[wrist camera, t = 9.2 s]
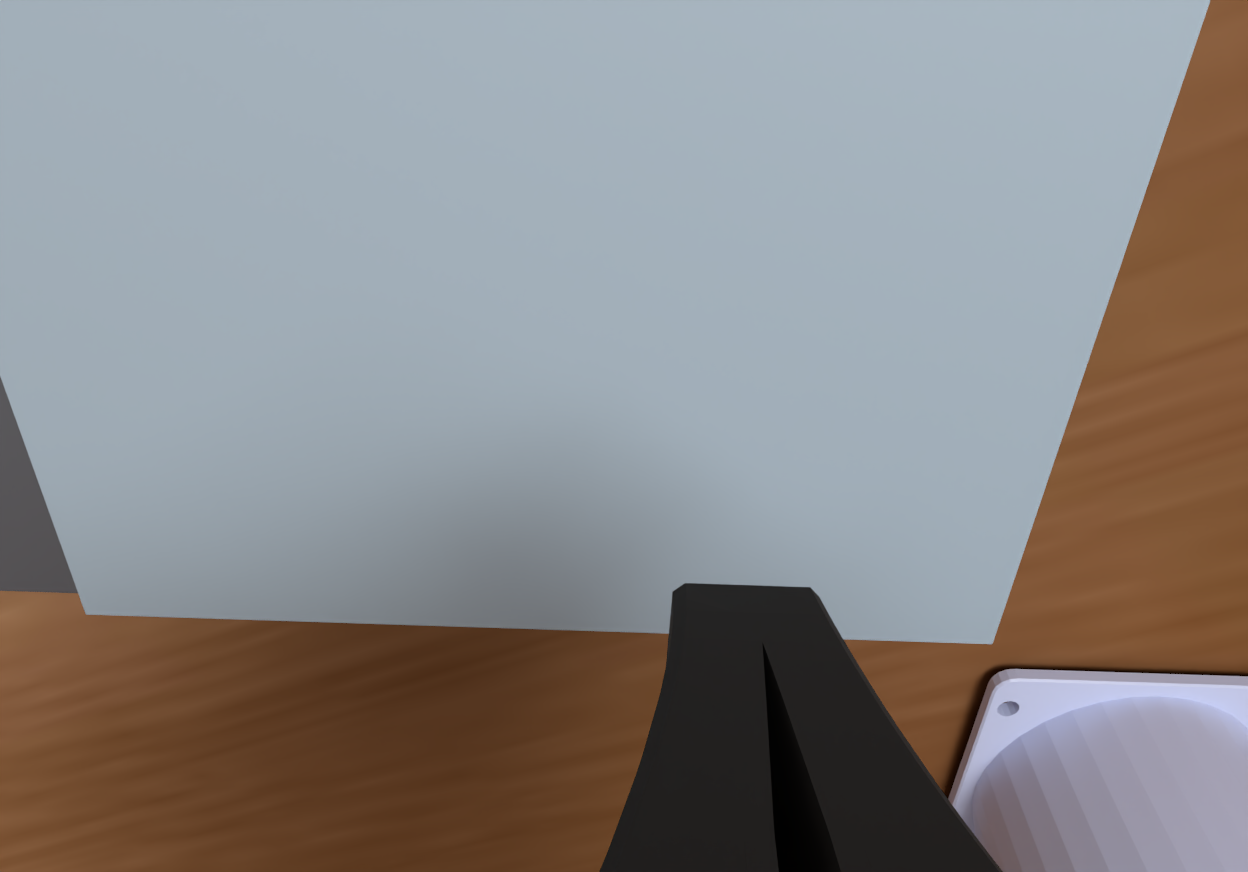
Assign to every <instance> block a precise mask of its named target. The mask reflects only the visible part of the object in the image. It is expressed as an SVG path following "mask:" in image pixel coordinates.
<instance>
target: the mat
mask: <svg viewBox="0 0 1248 872" xmlns="http://www.w3.org/2000/svg"><path fill="white" fill-rule="evenodd" d="M0 591H29V592H59V593H78V591H77V588H76V586H75V583H74V580H73V577H72V574H71V572H70V569H69V566H68V563H67V560H66V558H65V555H64V552H63V549H62V547H61V544H60V541H59V538H58V535H57V533H56V530H55V527H54V524H53V522H52V519H51V516H50V513H49V510H48V508H47V505H46V502H45V499H44V496H43V494H42V491H41V488H40V485H39V483H38V480H37V477H36V474H35V471H34V469H33V466H32V463H31V460H30V457H29V455H28V452H27V449H26V446H25V444H24V441H23V438H22V435H21V432H20V430H19V427H18V424H17V421H16V418H15V416H14V413H13V410H12V407H11V405H10V402H9V399H8V396H7V393H6V391H5V388H4V385H3V382H2V380H1V377H0Z"/></svg>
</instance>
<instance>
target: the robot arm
mask: <svg viewBox="0 0 1248 872" xmlns="http://www.w3.org/2000/svg"><path fill="white" fill-rule="evenodd" d="M1004 702H1007V703H1004ZM600 872H1248V676H1221V675H1190V674H1159V673H1128V672H1097V671H1066V670H1036V669H1006V670H1003V671H1000V672H998V673H997V674H995V675H994V676H993V677H992V678H991V679H990V681H989V682H988V685H987V688H986V691H985V694H984V697H983V700H982V702H981V705H980V708H979V711H978V714H977V717H976V720H975V723H974V726H973V728H972V731H971V734H970V737H969V740H968V743H967V746H966V749H965V752H964V754H963V757H962V760H961V763H960V766H959V769H958V772H957V775H956V778H955V780H954V783H953V786H952V789H951V792H950V795H949V798H947V797H946V796H945V794H944V793H943V792H942V790H941V789H940V788H939V786H938V785H937V783H936V782H935V780H934V779H933V777H932V776H931V775H930V773H929V772H928V770H927V769H926V767H925V766H924V764H923V763H922V761H921V760H920V759H919V757H918V756H917V754H916V753H915V751H914V750H913V748H912V747H911V746H910V744H909V743H908V741H907V740H906V738H905V737H904V735H903V734H902V732H901V731H900V730H899V728H898V727H897V725H896V724H895V722H894V720H893V719H892V717H891V716H890V714H889V713H888V711H887V710H886V708H885V707H884V705H883V704H882V702H881V701H880V699H879V697H878V696H877V694H876V693H875V691H874V689H873V688H872V686H871V685H870V683H869V681H868V680H867V678H866V677H865V675H864V673H863V672H862V670H861V668H860V667H859V665H858V664H857V662H856V660H855V659H854V657H853V655H852V654H851V652H850V650H849V649H848V647H847V645H846V643H845V642H844V640H843V638H842V637H841V635H840V633H839V631H838V630H837V628H836V626H835V624H834V623H833V621H832V619H831V617H830V615H829V614H828V612H827V610H826V608H825V606H824V604H823V603H822V601H821V599H820V597H819V596H818V595H817V594H816V593H815V592H814V591H813V590H812V589H811V588H810V587H788V586H758V585H728V584H698V583H684V584H683V585H682V586H680V587H679V588H677V589H676V590H674V591H673V592H672V603H671V615H670V627H669V638H668V650H667V662H666V670H665V674H664V679H663V684H662V688H661V693H660V697H659V700H658V704H657V707H656V710H655V714H654V717H653V721H652V724H651V728H650V731H649V735H648V738H647V742H646V745H645V749H644V752H643V756H642V759H641V762H640V765H639V768H638V771H637V774H636V777H635V779H634V782H633V785H632V788H631V790H630V793H629V796H628V798H627V801H626V804H625V807H624V809H623V812H622V815H621V817H620V820H619V823H618V826H617V828H616V831H615V834H614V836H613V839H612V842H611V845H610V847H609V850H608V852H607V855H606V857H605V860H604V862H603V865H602V867H601V869H600Z"/></svg>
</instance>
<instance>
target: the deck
mask: <svg viewBox="0 0 1248 872" xmlns="http://www.w3.org/2000/svg"><path fill="white" fill-rule="evenodd" d="M1209 3H1210V0H0V377H1V380H2V382H3V385H4V388H5V391H6V393H7V396H8V399H9V402H10V405H11V407H12V410H13V413H14V416H15V418H16V421H17V424H18V427H19V430H20V432H21V435H22V438H23V441H24V444H25V446H26V449H27V452H28V455H29V457H30V460H31V463H32V466H33V469H34V471H35V474H36V477H37V480H38V483H39V485H40V488H41V491H42V494H43V496H44V499H45V502H46V505H47V508H48V510H49V513H50V516H51V519H52V522H53V524H54V527H55V530H56V533H57V535H58V538H59V541H60V544H61V547H62V549H63V552H64V555H65V558H66V560H67V563H68V566H69V569H70V572H71V574H72V577H73V580H74V583H75V586H76V588H77V591H78V594H79V597H80V599H81V602H82V605H83V608H84V611H85V613H86V614H87V615H118V616H149V617H179V618H210V619H240V620H271V621H301V622H332V623H362V624H393V625H423V626H454V627H484V628H515V629H545V630H576V631H606V632H637V633H667V634H669V627H670V615H671V603H672V592H673V591H674V590H676V589H677V588H679V587H680V586H682V585H683V584H684V583H698V584H728V585H758V586H788V587H810V588H811V589H812V590H813V591H814V592H815V593H816V594H817V595H818V596H819V597H820V599H821V601H822V603H823V604H824V606H825V608H826V610H827V612H828V614H829V615H830V617H831V619H832V621H833V623H834V624H835V626H836V628H837V630H838V631H839V633H840V635H841V637H842V638H843V639H851V640H881V641H912V642H942V643H973V644H993V641H994V638H995V635H996V632H997V629H998V626H999V623H1000V620H1001V617H1002V614H1003V611H1004V608H1005V605H1006V602H1007V599H1008V596H1009V593H1010V590H1011V587H1012V584H1013V582H1014V579H1015V576H1016V573H1017V570H1018V567H1019V564H1020V561H1021V558H1022V555H1023V552H1024V549H1025V546H1026V543H1027V540H1028V537H1029V534H1030V531H1031V528H1032V525H1033V522H1034V520H1035V517H1036V514H1037V511H1038V508H1039V505H1040V502H1041V499H1042V496H1043V493H1044V490H1045V487H1046V484H1047V481H1048V478H1049V475H1050V472H1051V469H1052V466H1053V463H1054V460H1055V458H1056V455H1057V452H1058V449H1059V446H1060V443H1061V440H1062V437H1063V434H1064V431H1065V428H1066V425H1067V422H1068V419H1069V416H1070V413H1071V410H1072V407H1073V404H1074V401H1075V398H1076V396H1077V393H1078V390H1079V387H1080V384H1081V381H1082V378H1083V375H1084V372H1085V369H1086V366H1087V363H1088V360H1089V357H1090V354H1091V351H1092V348H1093V345H1094V342H1095V339H1096V336H1097V334H1098V331H1099V328H1100V325H1101V322H1102V319H1103V316H1104V313H1105V310H1106V307H1107V304H1108V301H1109V298H1110V295H1111V292H1112V289H1113V286H1114V283H1115V280H1116V277H1117V274H1118V271H1119V269H1120V266H1121V263H1122V260H1123V257H1124V254H1125V251H1126V248H1127V245H1128V242H1129V239H1130V236H1131V233H1132V230H1133V227H1134V224H1135V221H1136V218H1137V215H1138V212H1139V209H1140V207H1141V204H1142V201H1143V198H1144V195H1145V192H1146V189H1147V186H1148V183H1149V180H1150V177H1151V174H1152V171H1153V168H1154V165H1155V162H1156V159H1157V156H1158V153H1159V150H1160V147H1161V145H1162V142H1163V139H1164V136H1165V133H1166V130H1167V127H1168V124H1169V121H1170V118H1171V115H1172V112H1173V109H1174V106H1175V103H1176V100H1177V97H1178V94H1179V91H1180V88H1181V85H1182V83H1183V80H1184V77H1185V74H1186V71H1187V68H1188V65H1189V62H1190V59H1191V56H1192V53H1193V50H1194V47H1195V44H1196V41H1197V38H1198V35H1199V32H1200V29H1201V26H1202V23H1203V21H1204V18H1205V15H1206V12H1207V9H1208V6H1209Z"/></svg>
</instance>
